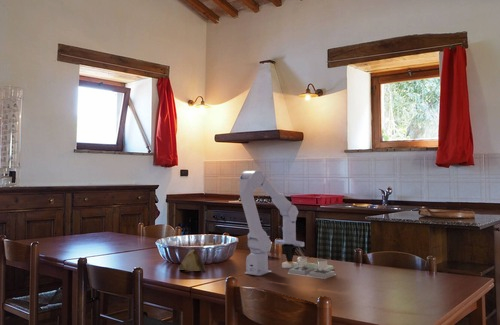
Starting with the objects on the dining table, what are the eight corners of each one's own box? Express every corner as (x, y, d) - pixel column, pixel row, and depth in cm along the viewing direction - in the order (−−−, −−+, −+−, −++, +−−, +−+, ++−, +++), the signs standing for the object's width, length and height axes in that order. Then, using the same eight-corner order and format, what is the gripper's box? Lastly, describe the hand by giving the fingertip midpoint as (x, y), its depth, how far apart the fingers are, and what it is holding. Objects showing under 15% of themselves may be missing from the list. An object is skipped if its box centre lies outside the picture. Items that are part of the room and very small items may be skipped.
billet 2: (324, 276, 185) (323, 261, 185) (315, 275, 188) (315, 260, 188) (328, 275, 188) (328, 259, 189) (320, 273, 191) (320, 258, 191)
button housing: (291, 269, 204) (291, 264, 204) (281, 268, 207) (281, 262, 207) (297, 268, 208) (297, 262, 208) (288, 266, 211) (288, 261, 211)
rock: (172, 266, 202) (186, 265, 195) (180, 249, 207) (194, 248, 200) (188, 278, 208) (203, 278, 201) (196, 261, 212) (210, 260, 205)
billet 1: (304, 273, 192) (304, 258, 192) (295, 272, 194) (295, 257, 194) (308, 271, 195) (308, 257, 195) (299, 270, 197) (300, 256, 197)
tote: (324, 274, 194) (323, 268, 194) (293, 269, 203) (293, 264, 204) (333, 270, 201) (333, 265, 201) (303, 266, 210) (303, 262, 210)
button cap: (290, 268, 205) (290, 262, 205) (285, 268, 207) (285, 261, 207) (294, 267, 207) (293, 261, 208) (288, 267, 209) (288, 260, 209)
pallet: (324, 280, 182) (324, 274, 182) (286, 275, 193) (286, 269, 193) (336, 276, 189) (336, 270, 190) (299, 271, 201) (299, 265, 201)
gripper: (307, 231, 206) (308, 261, 206) (281, 229, 215) (281, 258, 215) (299, 232, 201) (299, 264, 200) (272, 230, 210) (272, 260, 209)
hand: (289, 261), depth 207 cm, fingers closed, pressing on button cap
